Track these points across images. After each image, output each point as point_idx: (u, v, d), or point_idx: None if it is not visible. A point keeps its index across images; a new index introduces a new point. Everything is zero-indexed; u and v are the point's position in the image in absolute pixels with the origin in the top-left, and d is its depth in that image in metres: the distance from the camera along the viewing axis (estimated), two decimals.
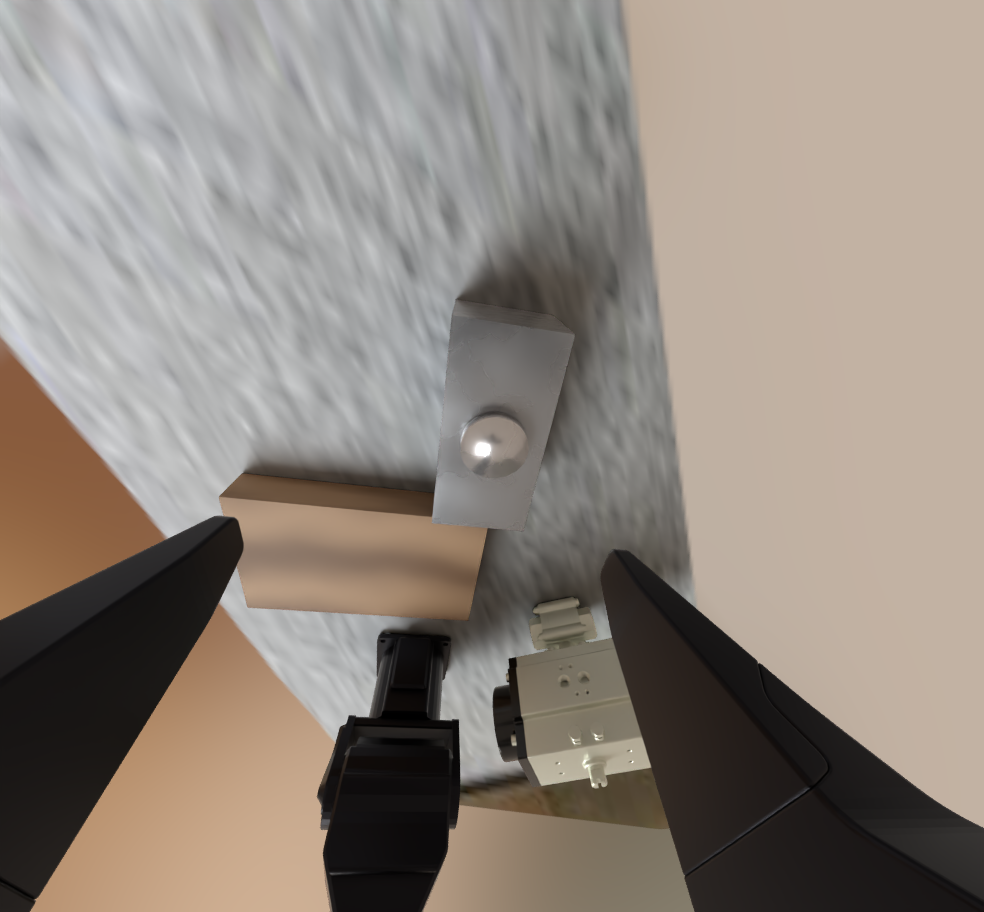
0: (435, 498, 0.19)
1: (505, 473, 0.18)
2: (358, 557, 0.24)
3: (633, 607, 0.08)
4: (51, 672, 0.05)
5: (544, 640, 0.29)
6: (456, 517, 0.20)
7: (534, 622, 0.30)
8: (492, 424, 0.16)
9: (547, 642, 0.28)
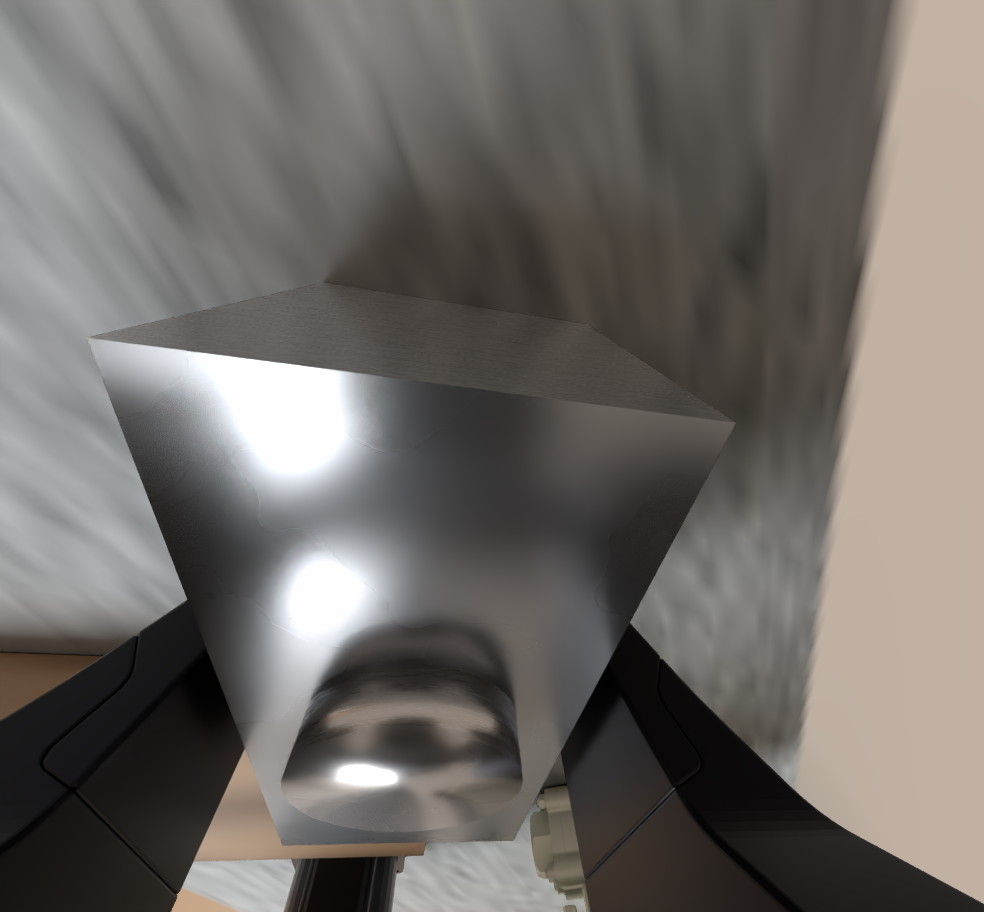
0: (274, 816, 0.07)
1: (450, 822, 0.06)
2: None
3: None
4: (198, 677, 0.05)
5: (557, 882, 0.16)
6: (343, 835, 0.08)
7: (539, 827, 0.18)
8: (382, 747, 0.04)
9: (562, 887, 0.16)
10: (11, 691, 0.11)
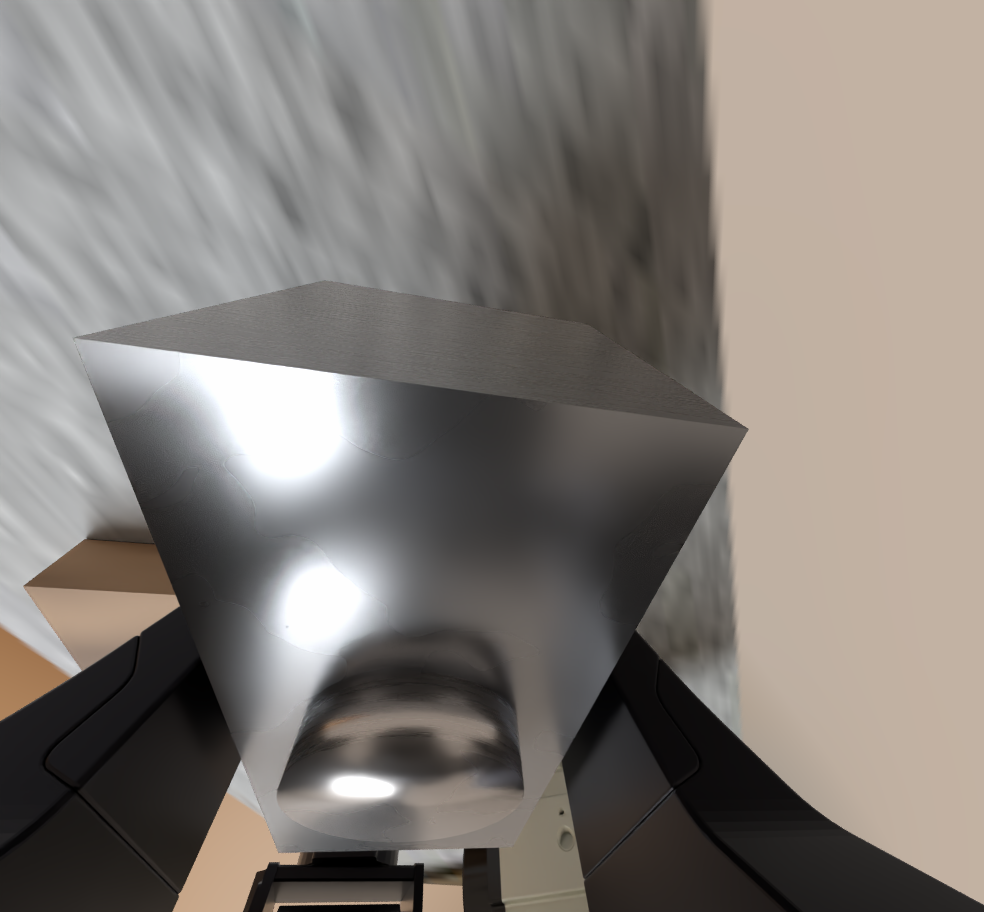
0: (271, 823, 0.07)
1: (450, 832, 0.06)
2: None
3: None
4: (199, 677, 0.05)
5: None
6: (340, 842, 0.08)
7: None
8: (381, 759, 0.04)
9: None
10: (143, 564, 0.15)
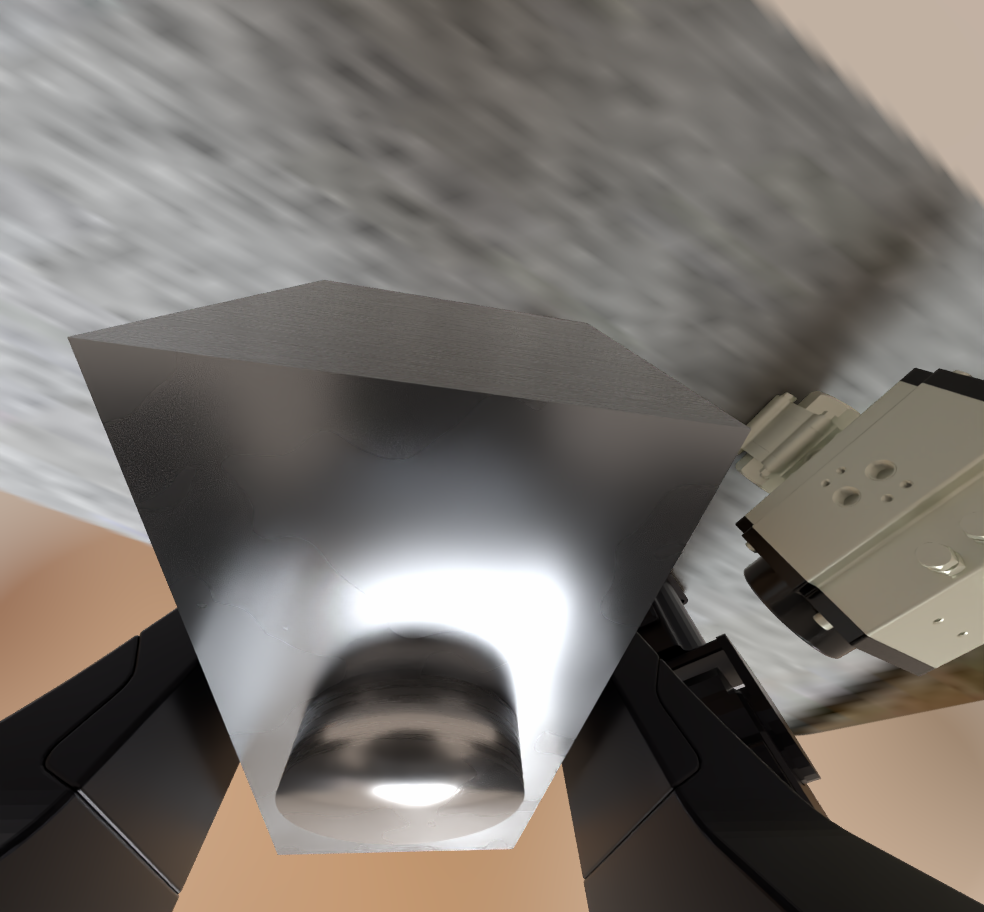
0: (270, 825, 0.07)
1: (450, 835, 0.05)
2: None
3: None
4: (199, 676, 0.05)
5: (774, 472, 0.18)
6: (339, 844, 0.08)
7: (743, 463, 0.20)
8: (380, 762, 0.04)
9: (781, 472, 0.18)
10: None
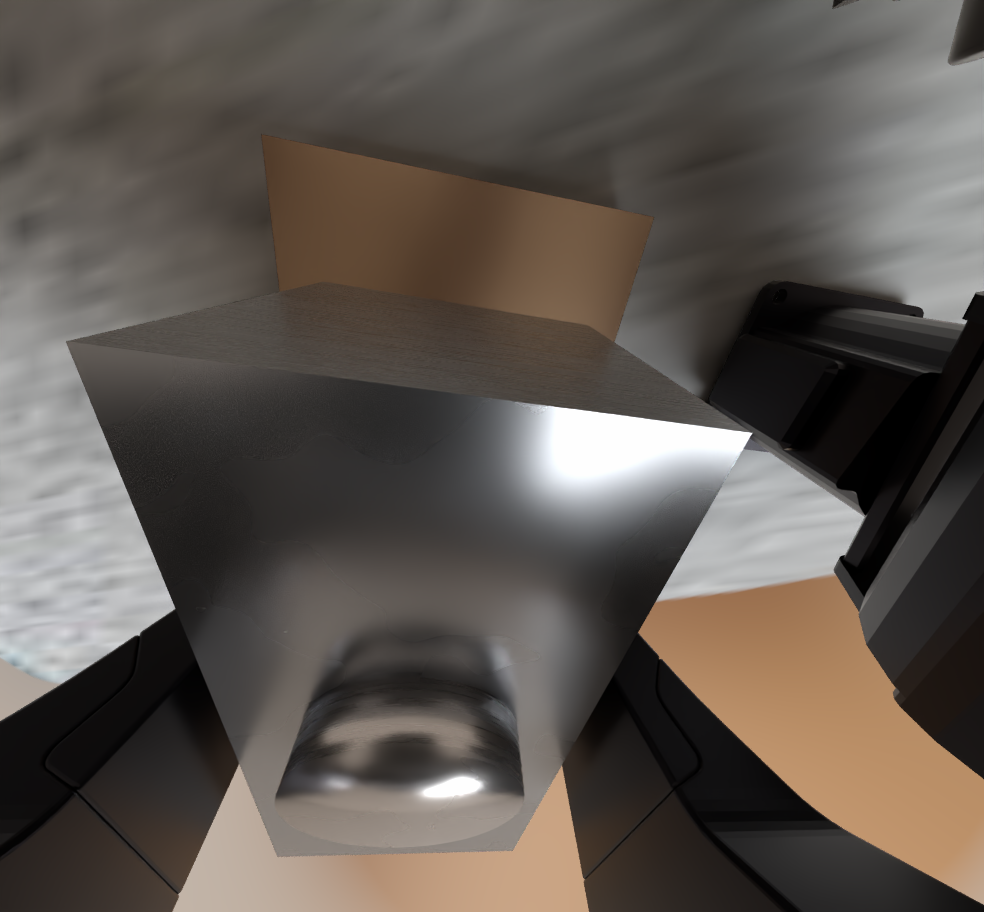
0: (269, 828, 0.07)
1: (450, 838, 0.05)
2: None
3: None
4: (199, 677, 0.05)
5: None
6: (339, 846, 0.08)
7: None
8: (380, 766, 0.04)
9: None
10: None
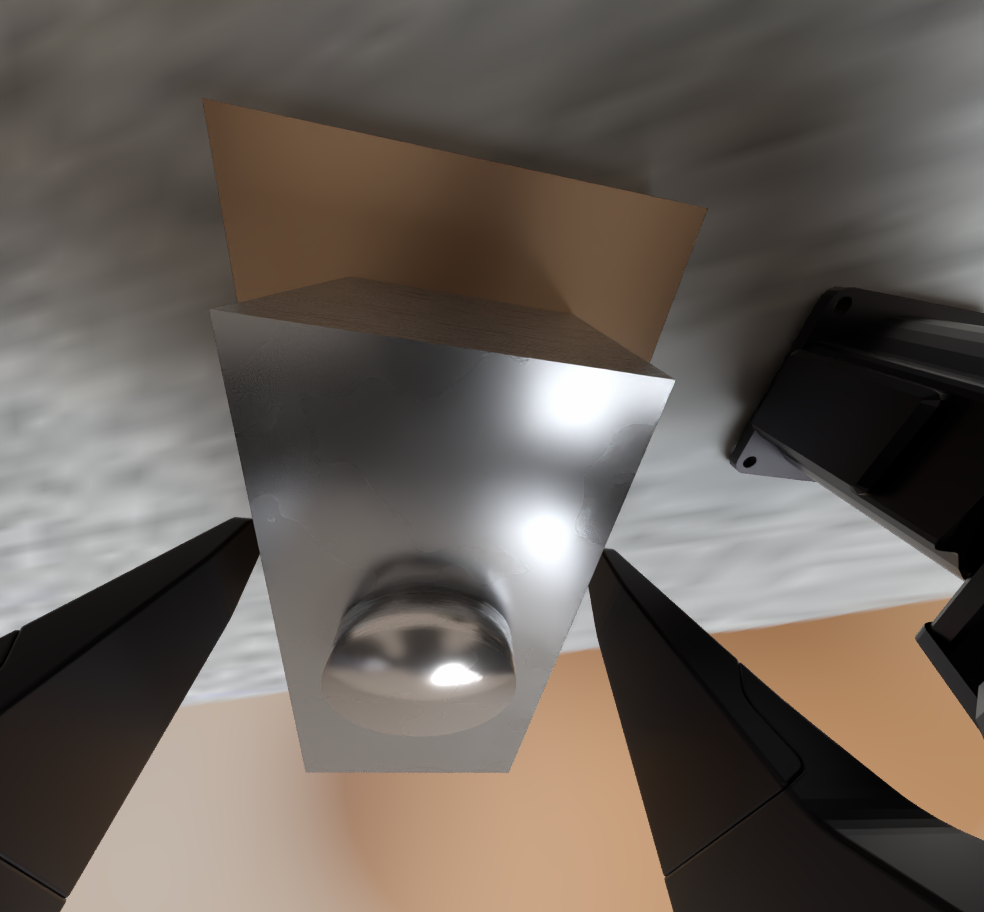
0: (302, 739, 0.08)
1: (456, 727, 0.07)
2: None
3: (617, 606, 0.08)
4: (83, 673, 0.05)
5: None
6: (359, 762, 0.09)
7: None
8: (404, 643, 0.05)
9: None
10: None
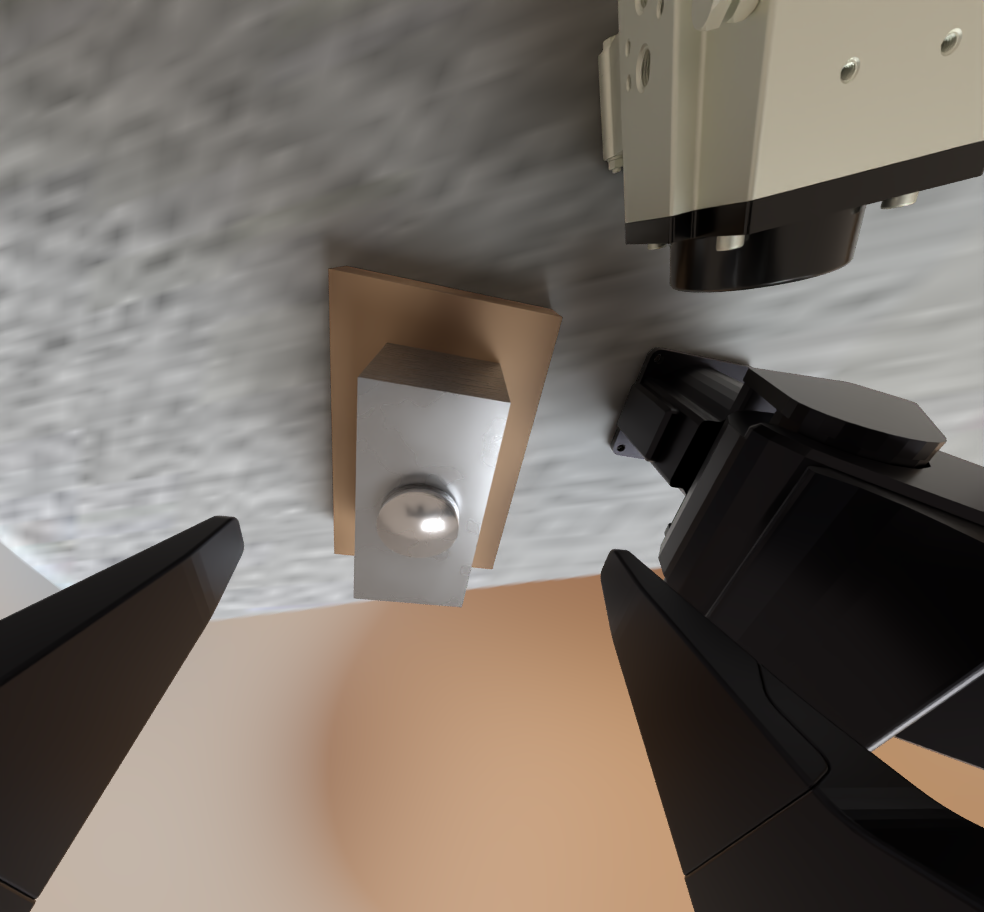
0: (355, 573, 0.16)
1: (432, 553, 0.15)
2: None
3: (633, 607, 0.08)
4: (51, 672, 0.05)
5: None
6: (382, 592, 0.17)
7: None
8: (412, 501, 0.14)
9: None
10: None
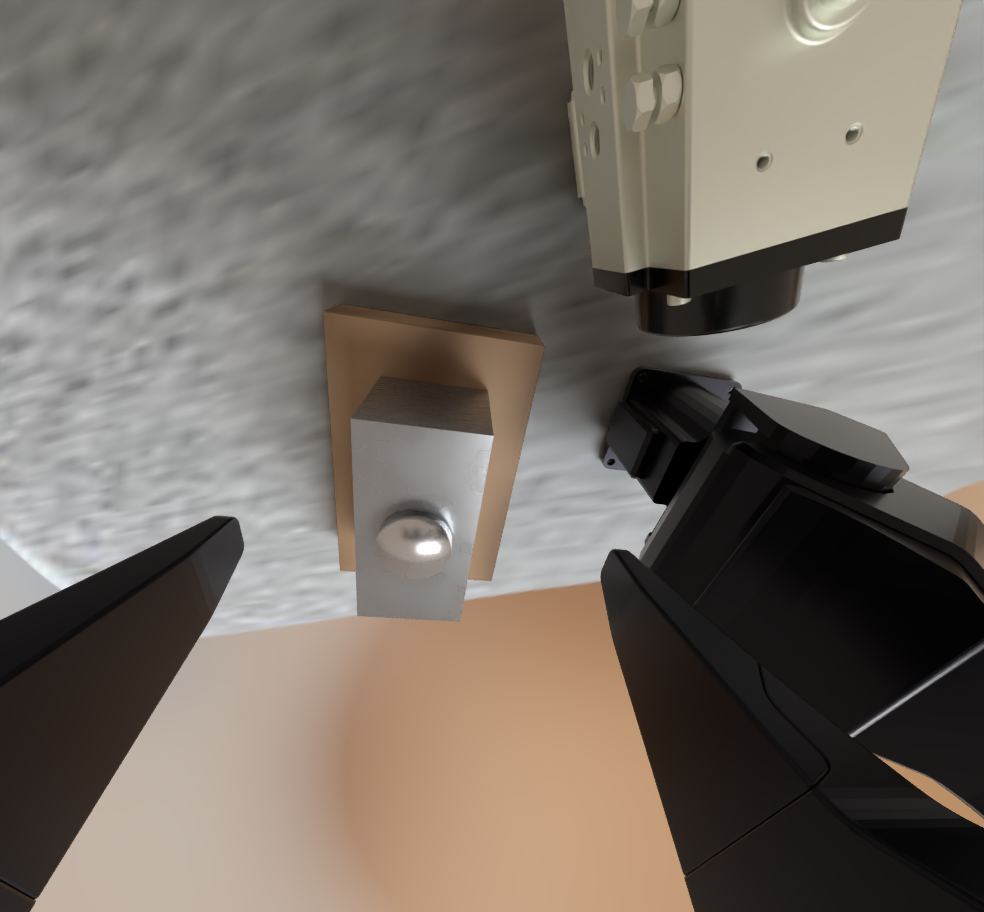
0: (358, 592, 0.17)
1: (428, 574, 0.16)
2: None
3: (633, 607, 0.08)
4: (52, 672, 0.05)
5: None
6: (384, 610, 0.18)
7: None
8: (406, 528, 0.15)
9: None
10: None
